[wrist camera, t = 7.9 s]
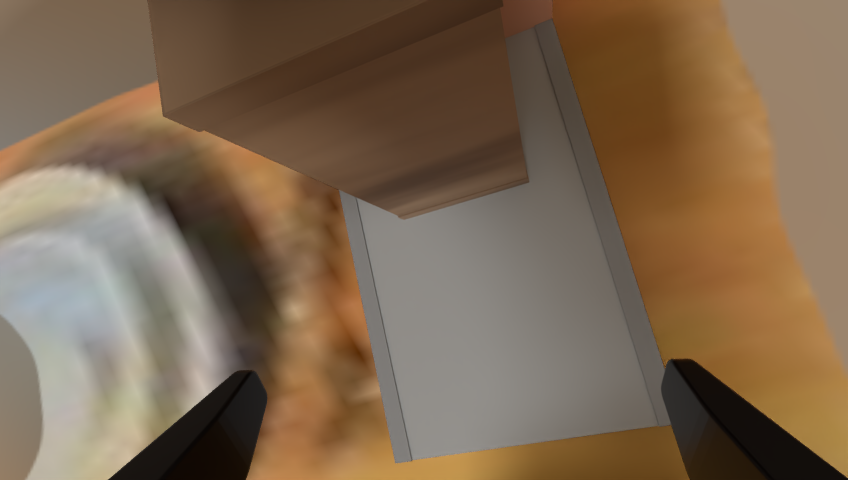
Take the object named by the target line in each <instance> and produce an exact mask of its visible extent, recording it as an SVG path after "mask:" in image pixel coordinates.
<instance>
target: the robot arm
mask: <svg viewBox="0 0 848 480" xmlns="http://www.w3.org/2000/svg"><path fill="white" fill-rule="evenodd" d="M661 394H662V398H663V401H664V404H665V407H666V410H667V413H668V416H669V419H670V423H671V426H672V429H673V432H674V435H675V438H676V441H677V444H678V447H679V450H680V453H681V456H682V460H683V462H684V465H685V468H686V471H687V474H688V476H689V478H690V480H848V478H847V477H845V476H844V475H843V474H841V473H840V472H839V471H838V470H836V469H835V468H834V467H832V466H831V465H830V464H828V463H827V462H826V461H824V460H823V459H822V458H821V457H819V456H818V455H817V454H815V453H814V452H813V451H811V450H810V449H809V448H808V447H806V446H805V445H804V444H802V443H801V442H800V441H798V440H797V439H796V438H795V437H793V436H792V435H791V434H789V433H788V432H787V431H785V430H784V429H783V428H781V427H780V426H779V425H778V424H776V423H775V422H774V421H772V420H771V419H770V418H768V417H767V416H766V415H765V414H763V413H762V412H761V411H759V410H758V409H757V408H755V407H754V406H753V405H751V404H750V403H749V402H748V401H746V400H745V399H744V398H742V397H741V396H740V395H738V394H737V393H736V392H735V391H733V390H732V389H731V388H729V387H728V386H727V385H725V384H724V383H723V382H721V381H720V380H719V379H718V378H716V377H715V376H714V375H712V374H711V373H710V372H708V371H707V370H706V369H705V368H703V367H702V366H701V365H699V364H698V363H697V362H695V361H693V360H691V359H670V360H669V361H668V362H667V365H666V368H665V372H664V376H663V380H662V383H661ZM266 404H267V392H266V390H265V388H264V386H263V384H262V382H261V380H260V378H259V376H258V374H257V373H256V372H255V371H253V370H241V371H236V372H235V373H233V374H232V375H231V376H230V377H228V378H227V379H226V380H225V381H224V382H223V383H221V384H220V385H219V386H218V387H217V388H215V389H214V390H213V391H212V392H211V393H210V394H208V395H207V396H206V397H205V398H204V399H203V400H201V401H200V402H199V403H198V404H197V405H195V406H194V407H193V408H192V409H191V410H190V411H188V412H187V413H186V414H185V415H184V416H183V417H181V418H180V419H179V420H178V421H177V422H175V423H174V424H173V425H172V426H171V427H170V428H168V429H167V430H166V431H165V432H164V433H163V434H161V435H160V436H159V437H158V438H157V439H155V440H154V441H153V442H152V443H151V444H150V445H148V446H147V447H146V448H145V449H144V450H142V451H141V452H140V453H139V454H138V455H137V456H135V457H134V458H133V459H132V460H131V461H130V462H128V463H127V464H126V465H125V466H124V467H122V468H121V469H120V470H119V471H118V472H117V473H115V474H114V475H113V476H112V477H111V478H110V479H108V480H246V478H247V475H248V472H249V469H250V465H251V462H252V458H253V455H254V451H255V447H256V443H257V439H258V435H259V431H260V427H261V424H262V420H263V416H264V412H265V408H266Z"/></svg>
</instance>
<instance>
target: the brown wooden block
mask: <svg viewBox="0 0 848 480" xmlns="http://www.w3.org/2000/svg"><path fill="white" fill-rule="evenodd" d="M147 1H148V8H149V16H150V22H151V30H152V38H153V44H154V53H155V60H156V67H157V75H158V82H159V90H160V97H161V105H162V112H163V117H166V118H168V119H170V120H173V121H175V122H177V123H180V124H182V125H184V126H186V127H189V128H191V129H193V130H196V131H198V132H201V131H203V130H205V131H207V132H209V133H211V134H214V135H216V136H218V137H221V138H223V139H225V140H227V141H230V142H232V143H234V144H236V145H239V146H241V147H243V148H245V149H248V150H250V151H252V152H255V153H257V154H259V155H261V156H264V157H266V158H268V159H270V160H273V161H275V162H277V163H279V164H282V165H284V166H286V167H288V168H291V169H293V170H295V171H298V172H300V173H302V174H304V175H307V176H309V177H311V178H313V179H316V180H318V181H320V182H322V183H325V184H327V185H329V186H331V187H334V188H336V189H338V190H341V191H343V192H345V193H347V194H350V195H352V196H354V197H356V198H359V199H361V200H363V201H365V202H368V203H370V204H372V205H375V206H377V207H379V208H381V209H384V210H386V211H388V212H390V213H393V214H395V215H397V216H398V218H400V219H403V220H405V219H409V218H412V217H415V216H419V215H422V214H425V213H429V212H432V211H435V210H439V209H442V208H446V207H449V206H452V205H456V204H459V203H462V202H466V201H469V200H472V199H476V198H479V197H482V196H486V195H489V194H492V193H496V192H499V191H502V190H506V189H509V188H512V187H516V186H519V185H522V184H526V183H529V177H528V174H527V170H526V166H525V160H524V154H523V148H522V142H521V135H520V129H519V123H518V117H517V110H516V104H515V98H514V92H513V85H512V79H511V73H510V67H509V60H508V54H507V48H506V42H505V35H504V29H503V23H502V17H501V10H500V7H503V0H147Z"/></svg>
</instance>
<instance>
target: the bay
mask: <svg viewBox="0 0 848 480" xmlns="http://www.w3.org/2000/svg"><path fill="white" fill-rule="evenodd" d="M552 6H553V0H503V7H500V10H501V17H502V23H503V29H504V35H505V42H506V48H507V54H508V60H509V67H510V73H511V79H512V85H513V92H514V98H515V104H516V110H517V117H518V123H519V129H520V135H521V142H522V148H523V154H524V160H525V166H526V170H527V174H528V177H529V183H526V184H522V185H519V186H516V187H512V188H509V189H506V190H502V191H499V192H496V193H492V194H489V195H486V196H482V197H479V198H476V199H472V200H469V201H466V202H462V203H459V204H456V205H452V206H449V207H446V208H442V209H439V210H435V211H432V212H429V213H425V214H422V215H419V216H415V217H412V218H409V219H405V220H403V219H400V218H398V216H397V215H395V214H393V213H390V212H388V211H386V210H384V209H381V208H379V207H377V206H375V205H372V204H370V203H368V202H365V201H363V200H361V199H359V198H356V197H354V196H352V195H350V194H347V193H345V192H343V191H341V190H339V192H340V197H341V202H342V207H343V212H344V217H345V221H346V226H347V231H348V236H349V241H350V246H351V250H352V255H353V260H354V265H355V270H356V275H357V280H358V284H359V289H360V294H361V299H362V304H363V309H364V313H365V318H366V323H367V328H368V333H369V338H370V342H371V347H372V352H373V357H374V362H375V367H376V371H377V376H378V381H379V386H380V391H381V396H382V401H383V405H384V410H385V415H386V420H387V425H388V430H389V434H390V439H391V444H392V449H393V454H394V459H395V463H401V462H408V461H412V460H417V459H424V458H431V457H438V456H445V455H453V454H460V453H467V452H474V451H481V450H489V449H496V448H503V447H510V446H517V445H524V444H532V443H539V442H546V441H553V440H560V439H568V438H575V437H582V436H589V435H596V434H603V433H611V432H618V431H625V430H632V429H639V428H647V427H654V426H659V427H661V426H668V425H671V423H670V419H669V416H668V413H667V410H666V407H665V404H664V401H663V398H662V394H661V383H662V380H663V376H664V372H665V369H664V366H663V362H662V359H661V356H660V353H659V350H658V347H657V344H656V341H655V338H654V334H653V331H652V328H651V325H650V322H649V319H648V316H647V313H646V310H645V306H644V303H643V300H642V297H641V294H640V291H639V288H638V285H637V281H636V278H635V275H634V272H633V269H632V266H631V263H630V260H629V257H628V253H627V250H626V247H625V244H624V241H623V238H622V235H621V232H620V229H619V225H618V222H617V219H616V216H615V213H614V210H613V207H612V204H611V200H610V197H609V194H608V191H607V188H606V185H605V182H604V179H603V176H602V172H601V169H600V166H599V163H598V160H597V157H596V154H595V151H594V148H593V144H592V141H591V138H590V135H589V132H588V129H587V126H586V123H585V119H584V116H583V113H582V110H581V107H580V104H579V101H578V98H577V95H576V91H575V88H574V85H573V82H572V79H571V76H570V73H569V70H568V66H567V63H566V60H565V57H564V54H563V51H562V48H561V45H560V42H559V38H558V35H557V32H556V29H555V26H554V23H553V20H552Z"/></svg>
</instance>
